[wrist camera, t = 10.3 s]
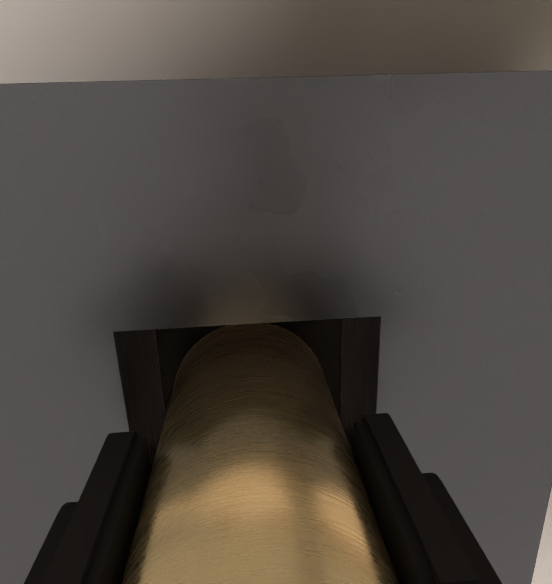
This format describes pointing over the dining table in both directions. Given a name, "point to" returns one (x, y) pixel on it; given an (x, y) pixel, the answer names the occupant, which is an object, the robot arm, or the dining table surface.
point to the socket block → (282, 270)
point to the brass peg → (255, 474)
